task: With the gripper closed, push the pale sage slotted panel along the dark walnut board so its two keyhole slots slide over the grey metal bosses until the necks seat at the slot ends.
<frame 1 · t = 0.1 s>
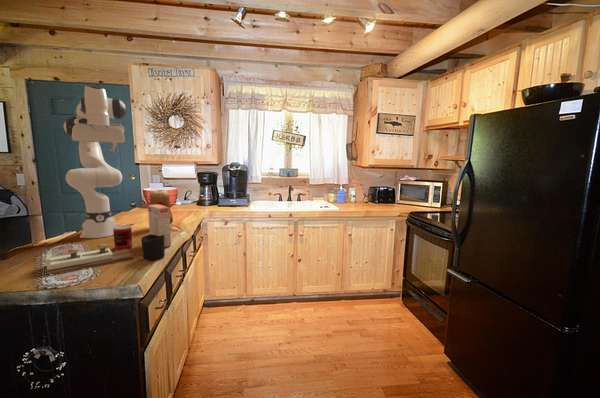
hand: (100, 151, 131), 48 cm above the countertop, tool pointing down, fingers open, 8 cm apart
canned food: (123, 248, 140), on the countertop
cracker box: (160, 245, 146), on the countertop
pen holder: (154, 258, 127), on the countertop
butternut squash: (161, 228, 179), on the countertop
board: (92, 261, 121), on the countertop
panel: (80, 256, 118), point 3 cm above the countertop, slide at 0.0 cm
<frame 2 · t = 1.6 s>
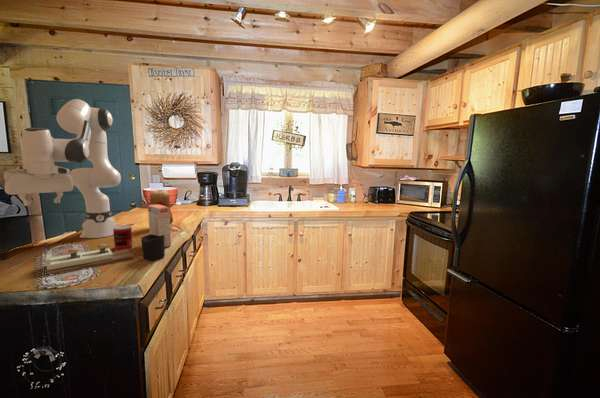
hand: (42, 204, 110), 27 cm above the countertop, tool pointing down, fingers open, 8 cm apart
nothing on the countertop moved.
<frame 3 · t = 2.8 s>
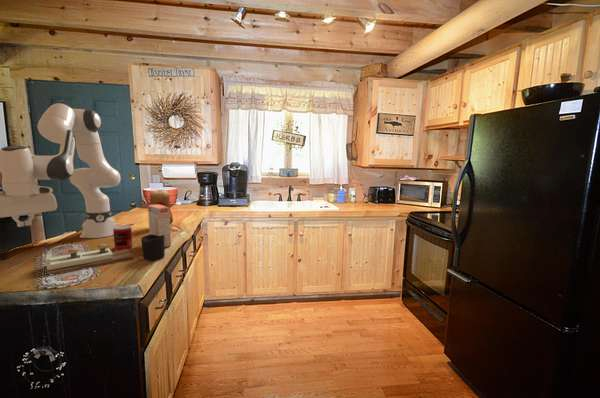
hand: (24, 225, 105), 19 cm above the countertop, tool pointing down, fingers closed
nothing on the countertop moved.
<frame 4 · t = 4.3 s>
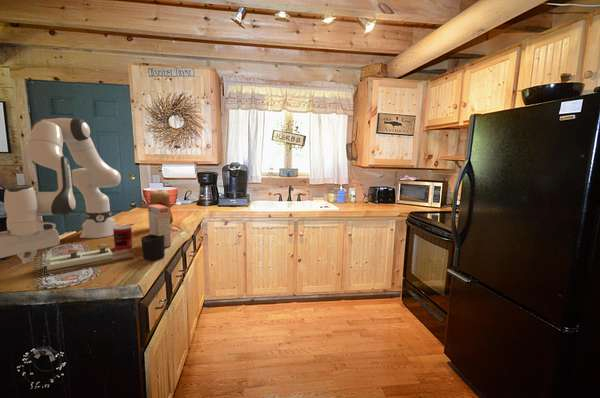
hand: (28, 262, 107), 4 cm above the countertop, tool pointing down, fingers closed
nothing on the countertop moved.
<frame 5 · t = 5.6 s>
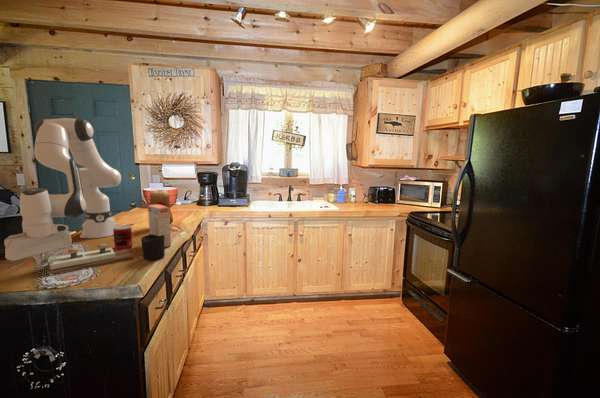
hand: (42, 263, 110), 3 cm above the countertop, tool pointing down, fingers closed
panel: (83, 255, 118), point 3 cm above the countertop, slide at 0.9 cm, touching gripper
everything else where it was.
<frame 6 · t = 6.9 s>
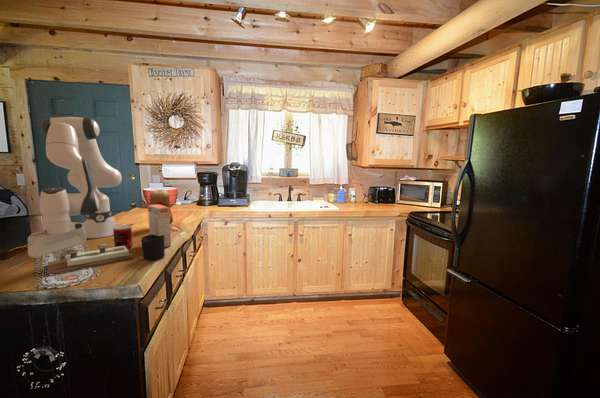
hand: (60, 260, 114), 3 cm above the countertop, tool pointing down, fingers closed
panel: (98, 253, 122), point 4 cm above the countertop, slide at 6.1 cm, touching gripper
everything else where it was.
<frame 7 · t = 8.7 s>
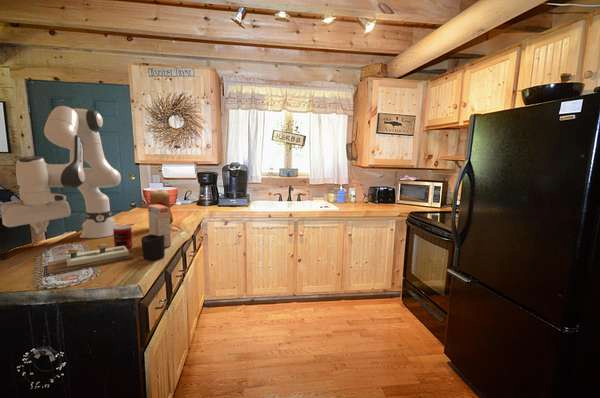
hand: (41, 232, 110), 15 cm above the countertop, tool pointing down, fingers closed
panel: (98, 253, 122), point 3 cm above the countertop, slide at 6.0 cm
everything else where it was.
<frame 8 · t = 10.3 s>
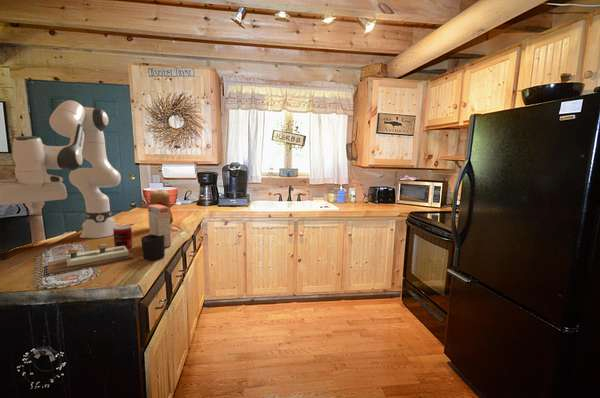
hand: (36, 213, 109), 23 cm above the countertop, tool pointing down, fingers closed
nothing on the countertop moved.
at the end: panel slide at 6.0 cm; panel touching nothing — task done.
